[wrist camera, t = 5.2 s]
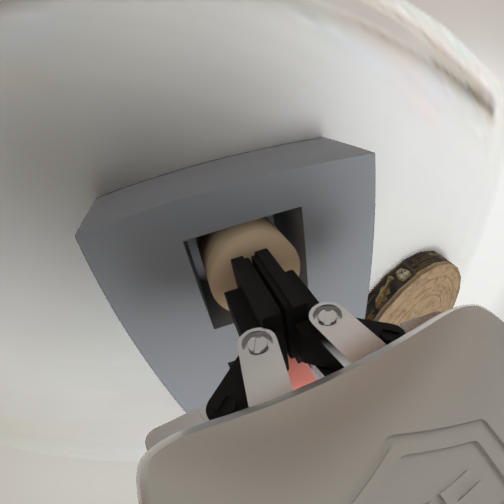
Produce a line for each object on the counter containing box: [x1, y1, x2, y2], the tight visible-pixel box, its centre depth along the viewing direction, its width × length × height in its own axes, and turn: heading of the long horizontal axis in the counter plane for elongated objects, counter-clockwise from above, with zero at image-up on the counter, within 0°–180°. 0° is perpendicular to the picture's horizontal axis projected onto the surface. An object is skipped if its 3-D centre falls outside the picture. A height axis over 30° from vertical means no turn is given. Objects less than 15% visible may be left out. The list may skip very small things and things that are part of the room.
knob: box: [197, 217, 300, 311], centre depth 15 cm, size 4×4×4 cm
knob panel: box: [75, 137, 375, 413], centre depth 20 cm, size 26×14×5 cm, turn 10°
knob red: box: [287, 353, 317, 390], centre depth 18 cm, size 4×4×4 cm
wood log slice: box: [365, 251, 461, 326], centre depth 28 cm, size 16×16×3 cm
